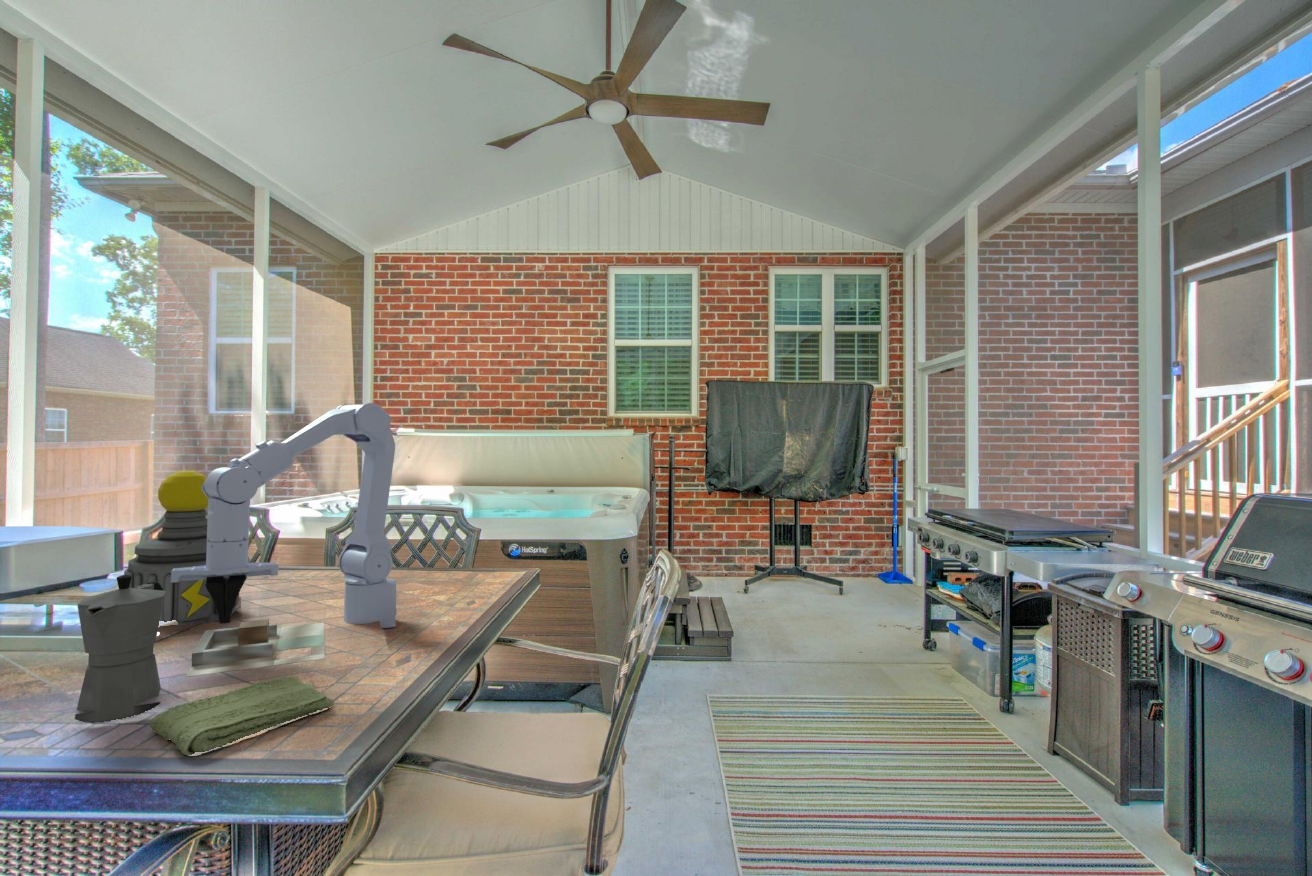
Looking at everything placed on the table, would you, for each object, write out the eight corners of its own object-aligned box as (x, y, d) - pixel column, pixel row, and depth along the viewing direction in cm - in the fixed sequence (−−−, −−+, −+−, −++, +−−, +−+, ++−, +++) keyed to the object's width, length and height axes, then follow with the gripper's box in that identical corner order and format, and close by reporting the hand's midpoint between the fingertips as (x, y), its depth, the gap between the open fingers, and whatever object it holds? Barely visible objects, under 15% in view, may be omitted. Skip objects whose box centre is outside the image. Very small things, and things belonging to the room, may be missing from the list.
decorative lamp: (112, 619, 123) (116, 469, 123) (223, 601, 137) (227, 467, 137) (132, 639, 110) (137, 473, 111) (252, 618, 125) (256, 471, 125)
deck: (323, 630, 118) (324, 612, 118) (324, 667, 99) (324, 646, 99) (209, 643, 110) (209, 623, 110) (185, 686, 90) (186, 663, 90)
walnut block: (268, 642, 106) (269, 619, 106) (266, 649, 103) (267, 625, 103) (240, 645, 104) (241, 621, 104) (238, 652, 101) (238, 628, 101)
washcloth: (339, 711, 84) (340, 688, 84) (187, 766, 69) (188, 738, 69) (291, 689, 91) (292, 667, 91) (143, 734, 77) (144, 708, 77)
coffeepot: (131, 727, 77) (135, 585, 78) (41, 734, 75) (46, 587, 76) (193, 681, 92) (196, 561, 93) (120, 685, 90) (124, 563, 91)
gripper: (167, 545, 95) (164, 633, 95) (277, 540, 102) (275, 622, 102) (177, 539, 101) (174, 621, 101) (280, 535, 108) (277, 612, 108)
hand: (225, 621), depth 102 cm, fingers closed
